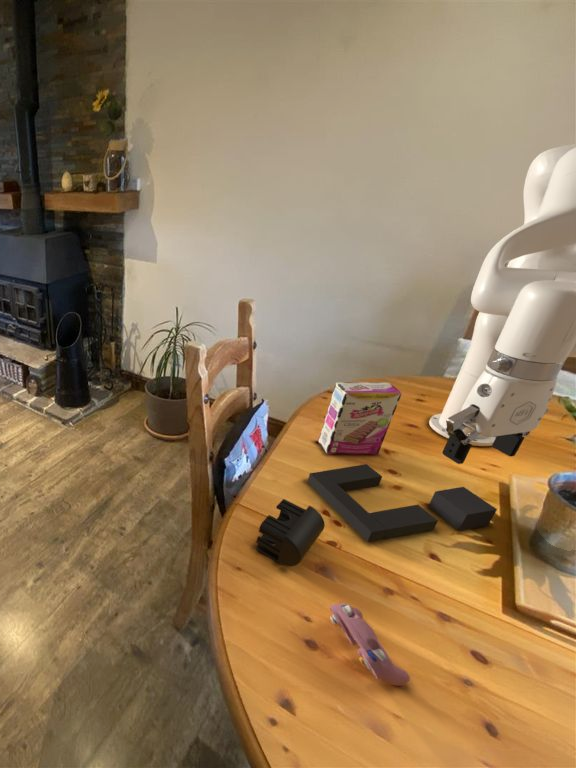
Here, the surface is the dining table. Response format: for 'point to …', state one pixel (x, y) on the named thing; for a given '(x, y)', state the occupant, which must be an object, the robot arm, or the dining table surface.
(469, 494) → the black square block
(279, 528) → the end cap
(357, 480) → the notch pad
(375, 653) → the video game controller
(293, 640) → the dining table surface
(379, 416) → the candy bar box
